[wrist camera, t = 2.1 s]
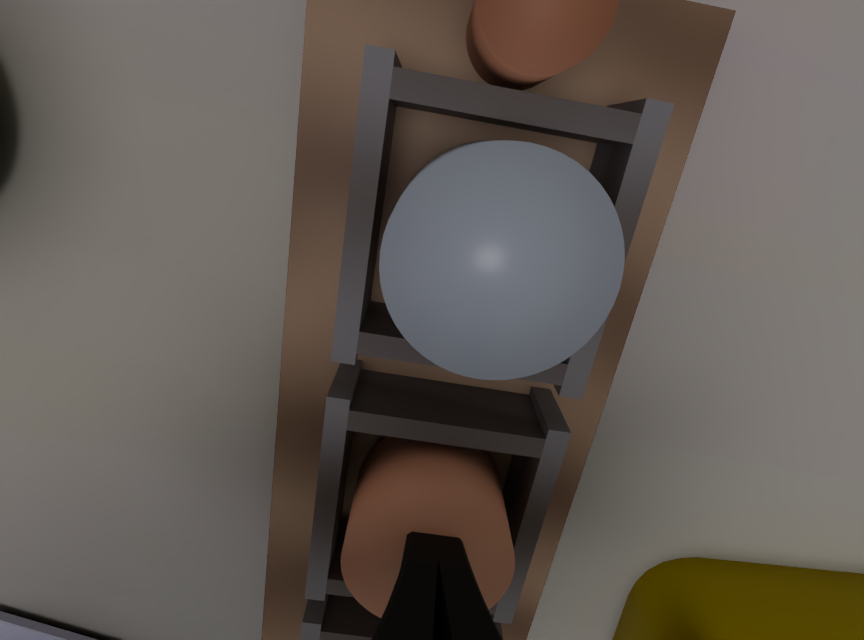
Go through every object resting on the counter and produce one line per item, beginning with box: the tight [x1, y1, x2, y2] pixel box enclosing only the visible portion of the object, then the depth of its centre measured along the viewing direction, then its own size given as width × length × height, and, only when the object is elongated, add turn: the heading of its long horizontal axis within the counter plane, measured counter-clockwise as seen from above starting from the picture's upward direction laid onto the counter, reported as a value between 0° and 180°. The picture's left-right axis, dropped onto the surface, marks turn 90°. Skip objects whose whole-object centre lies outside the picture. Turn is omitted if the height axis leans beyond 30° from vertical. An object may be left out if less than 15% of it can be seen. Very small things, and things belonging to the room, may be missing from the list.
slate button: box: [379, 140, 625, 380], centre depth 10 cm, size 4×4×3 cm
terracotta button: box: [341, 436, 515, 618], centre depth 14 cm, size 4×4×3 cm
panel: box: [262, 0, 736, 640], centre depth 15 cm, size 28×10×5 cm, turn 170°
